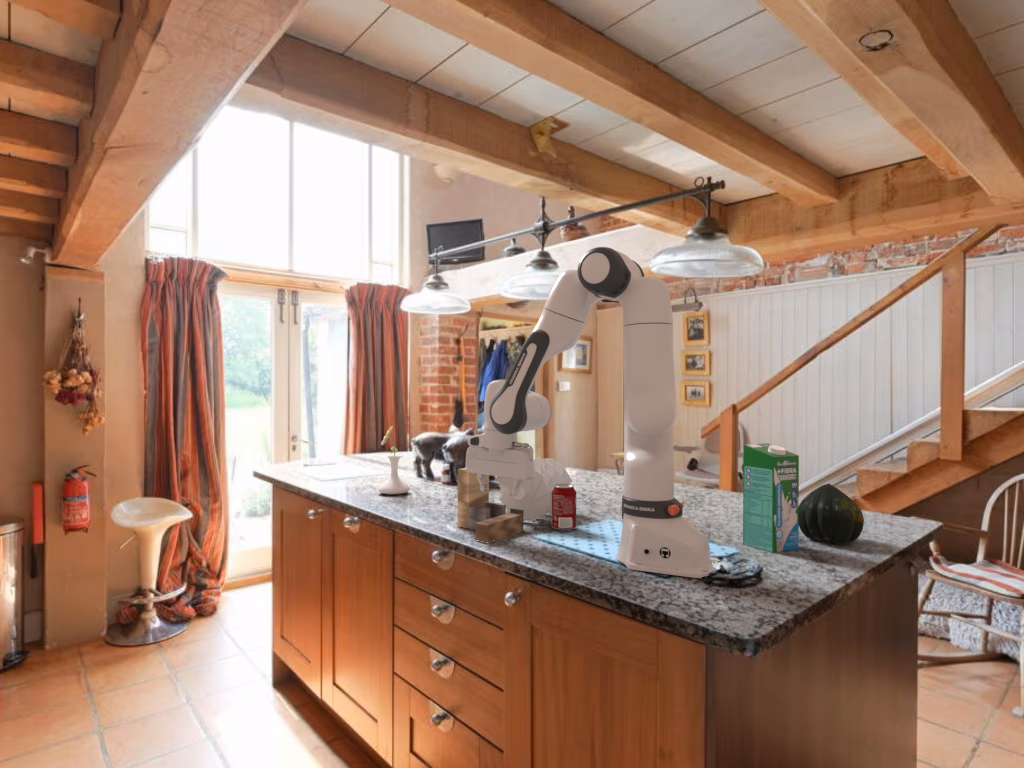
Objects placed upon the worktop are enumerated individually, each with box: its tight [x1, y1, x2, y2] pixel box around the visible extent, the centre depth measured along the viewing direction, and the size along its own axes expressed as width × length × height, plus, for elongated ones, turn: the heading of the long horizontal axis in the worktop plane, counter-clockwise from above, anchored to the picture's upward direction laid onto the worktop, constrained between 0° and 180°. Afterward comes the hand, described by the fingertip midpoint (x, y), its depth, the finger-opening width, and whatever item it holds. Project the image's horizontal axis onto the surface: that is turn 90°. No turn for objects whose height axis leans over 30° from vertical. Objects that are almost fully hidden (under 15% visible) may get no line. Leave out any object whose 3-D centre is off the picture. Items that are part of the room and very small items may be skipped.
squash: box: [799, 483, 865, 546], centre depth 151 cm, size 14×15×15 cm
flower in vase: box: [377, 425, 411, 496], centre depth 212 cm, size 13×11×25 cm
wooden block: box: [474, 508, 524, 543], centre depth 153 cm, size 16×4×6 cm, turn 145°
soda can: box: [551, 484, 577, 532], centre depth 161 cm, size 7×7×12 cm
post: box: [456, 467, 507, 530], centre depth 163 cm, size 10×9×16 cm
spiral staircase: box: [494, 455, 573, 523], centre depth 177 cm, size 18×18×25 cm
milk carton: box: [742, 442, 800, 554], centre depth 144 cm, size 9×9×25 cm
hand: (498, 493), depth 154 cm, fingers open, 8 cm apart
